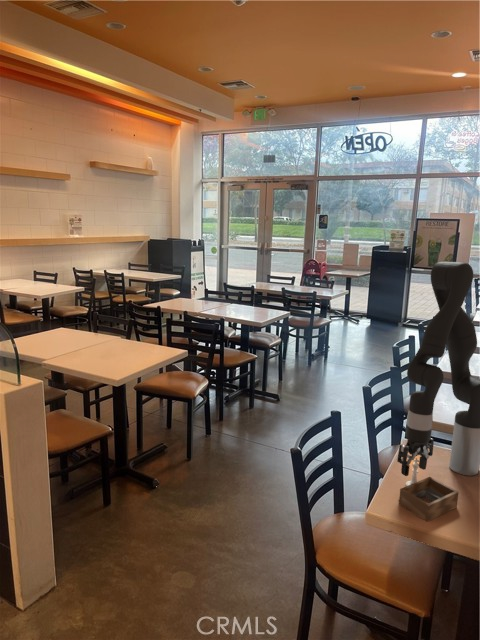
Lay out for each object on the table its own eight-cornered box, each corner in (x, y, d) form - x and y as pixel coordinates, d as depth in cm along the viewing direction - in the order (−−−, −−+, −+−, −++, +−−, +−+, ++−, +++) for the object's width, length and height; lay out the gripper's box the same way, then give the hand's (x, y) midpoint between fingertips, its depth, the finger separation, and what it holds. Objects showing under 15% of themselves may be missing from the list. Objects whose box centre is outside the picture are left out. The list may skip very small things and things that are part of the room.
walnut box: (428, 491, 147) (429, 476, 146) (456, 507, 139) (458, 492, 138) (398, 503, 140) (400, 488, 139) (427, 521, 132) (429, 505, 131)
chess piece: (422, 491, 147) (425, 463, 145) (406, 489, 148) (409, 461, 146) (420, 483, 152) (423, 455, 150) (404, 481, 152) (407, 454, 151)
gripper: (423, 416, 152) (418, 461, 155) (394, 424, 145) (389, 471, 148) (443, 424, 146) (437, 471, 149) (414, 433, 139) (408, 482, 142)
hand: (413, 471), depth 149 cm, fingers open, 8 cm apart
